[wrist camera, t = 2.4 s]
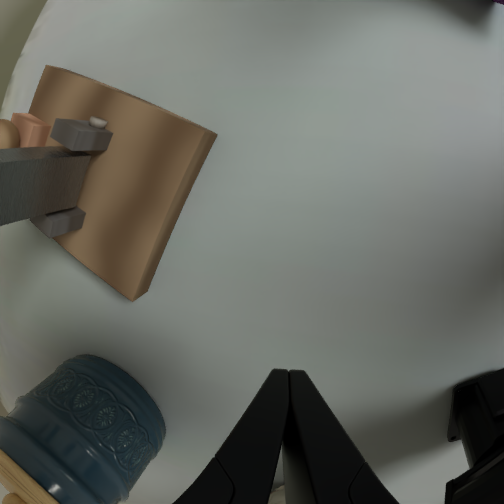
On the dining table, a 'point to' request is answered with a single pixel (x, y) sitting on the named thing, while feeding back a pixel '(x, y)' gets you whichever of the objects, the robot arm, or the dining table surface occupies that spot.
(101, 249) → the board
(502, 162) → the dining table surface
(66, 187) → the lever
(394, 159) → the dining table surface
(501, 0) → the perfume bottle
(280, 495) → the chinaware
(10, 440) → the canister
